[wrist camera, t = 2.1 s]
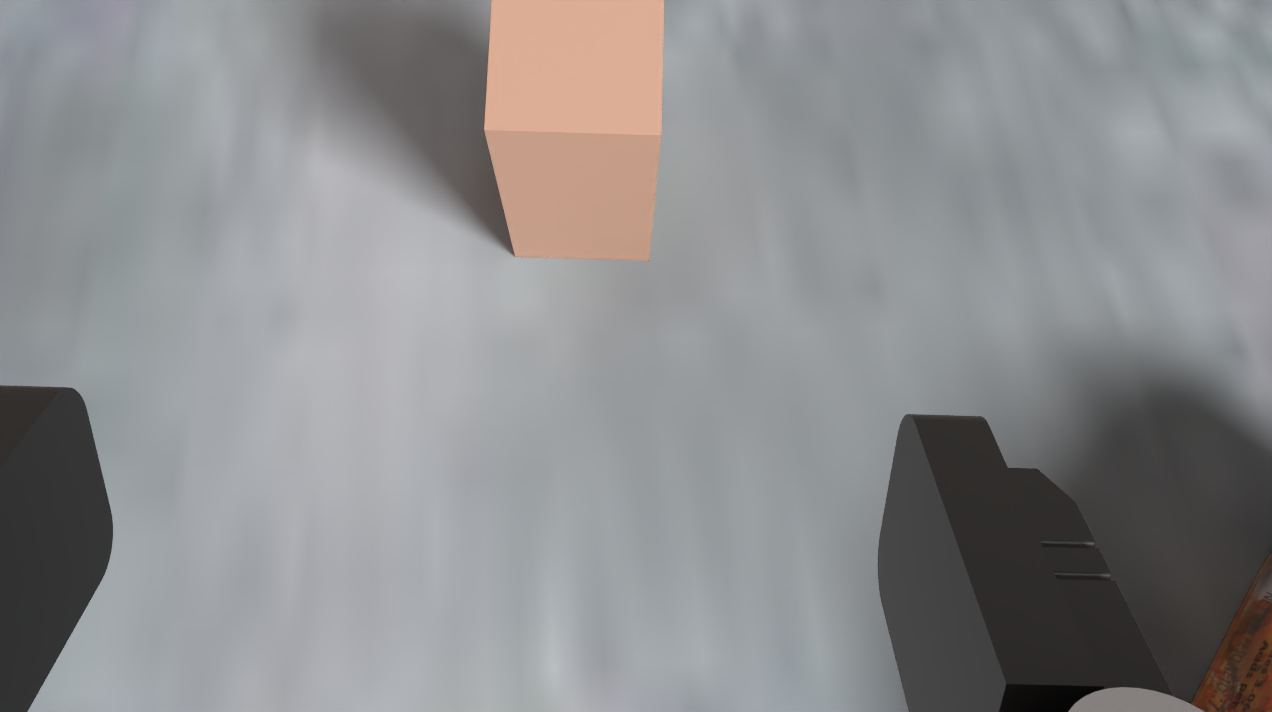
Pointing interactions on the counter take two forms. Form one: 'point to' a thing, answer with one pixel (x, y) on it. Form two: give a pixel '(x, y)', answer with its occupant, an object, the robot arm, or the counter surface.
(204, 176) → the counter surface
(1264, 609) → the tin
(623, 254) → the peg
